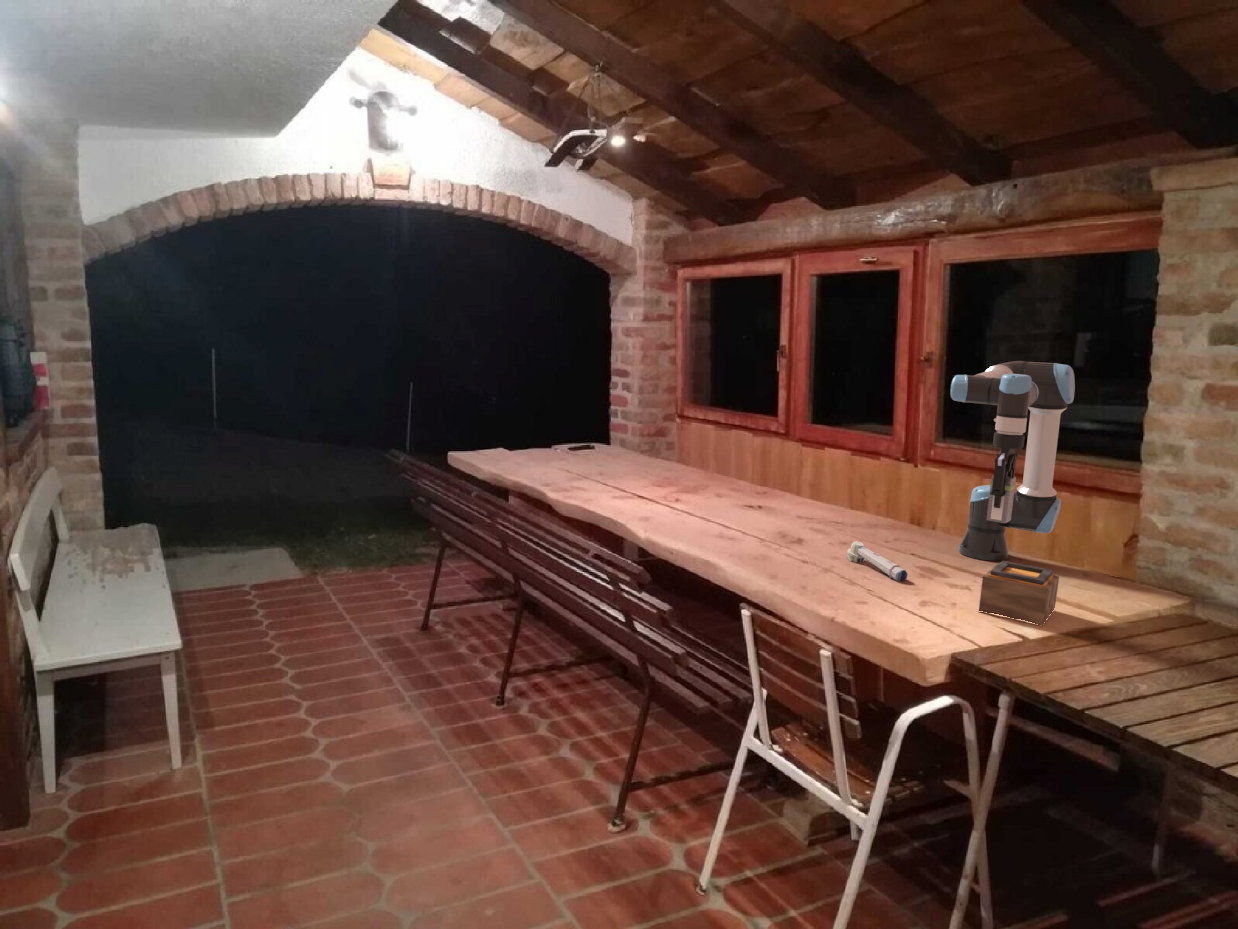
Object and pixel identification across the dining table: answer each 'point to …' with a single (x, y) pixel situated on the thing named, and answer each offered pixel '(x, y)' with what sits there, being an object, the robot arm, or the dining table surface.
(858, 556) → the white plastic rod
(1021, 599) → the walnut stand
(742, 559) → the dining table surface
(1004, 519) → the steel column
